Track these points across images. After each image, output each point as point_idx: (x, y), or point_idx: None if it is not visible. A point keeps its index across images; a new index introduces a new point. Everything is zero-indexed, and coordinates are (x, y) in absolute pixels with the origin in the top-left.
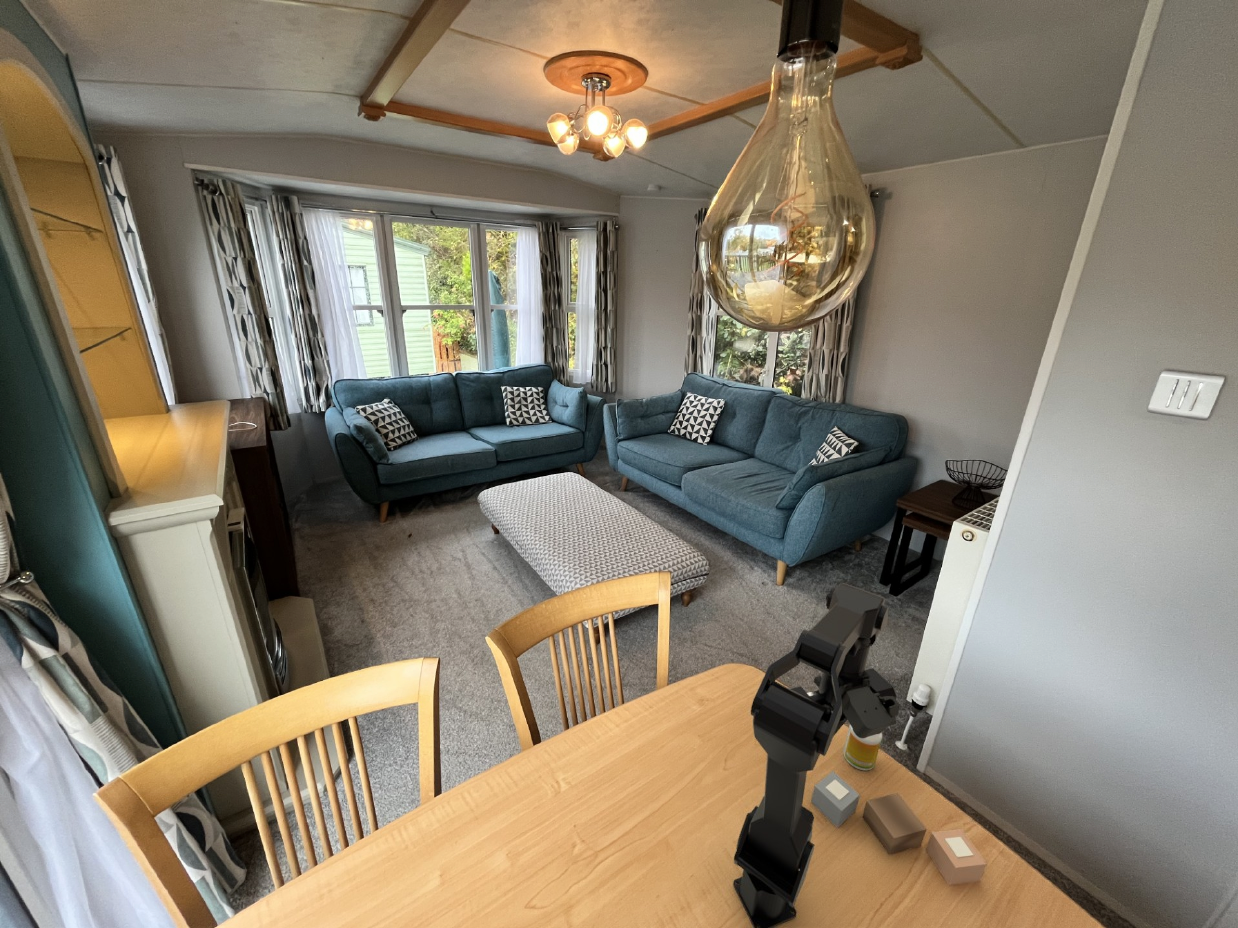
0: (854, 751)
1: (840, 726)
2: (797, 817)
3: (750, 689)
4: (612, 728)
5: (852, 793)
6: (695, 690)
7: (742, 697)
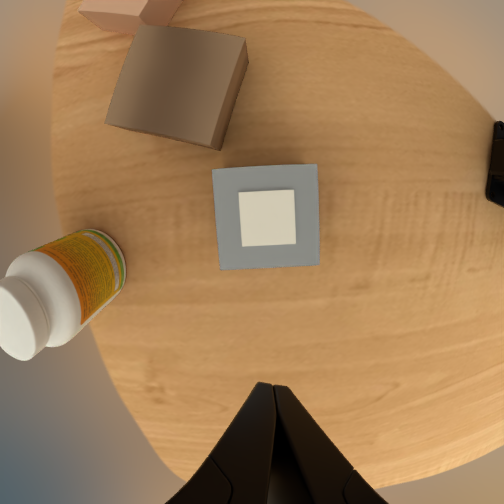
0: (103, 278)
1: (231, 452)
2: None
3: None
4: (445, 465)
5: (231, 183)
6: None
7: None
